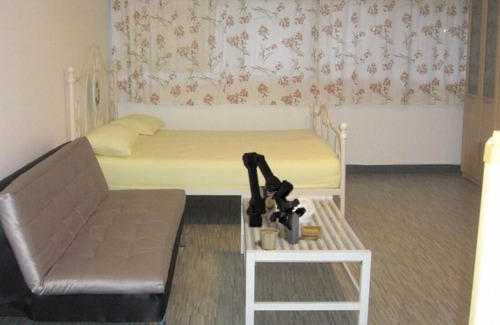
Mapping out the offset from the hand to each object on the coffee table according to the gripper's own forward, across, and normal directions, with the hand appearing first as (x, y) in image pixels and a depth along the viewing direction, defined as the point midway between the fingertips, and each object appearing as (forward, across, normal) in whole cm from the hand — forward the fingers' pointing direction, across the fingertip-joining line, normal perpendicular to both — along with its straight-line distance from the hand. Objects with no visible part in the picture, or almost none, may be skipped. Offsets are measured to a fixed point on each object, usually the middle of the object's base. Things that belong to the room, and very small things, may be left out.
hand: (294, 229), depth 287 cm
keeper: (+1, +15, +9) cm, 18 cm away
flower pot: (+4, -14, +6) cm, 16 cm away
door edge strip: (+3, +7, +8) cm, 10 cm away
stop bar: (+4, 0, +6) cm, 7 cm away
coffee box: (-32, +18, +42) cm, 56 cm away
